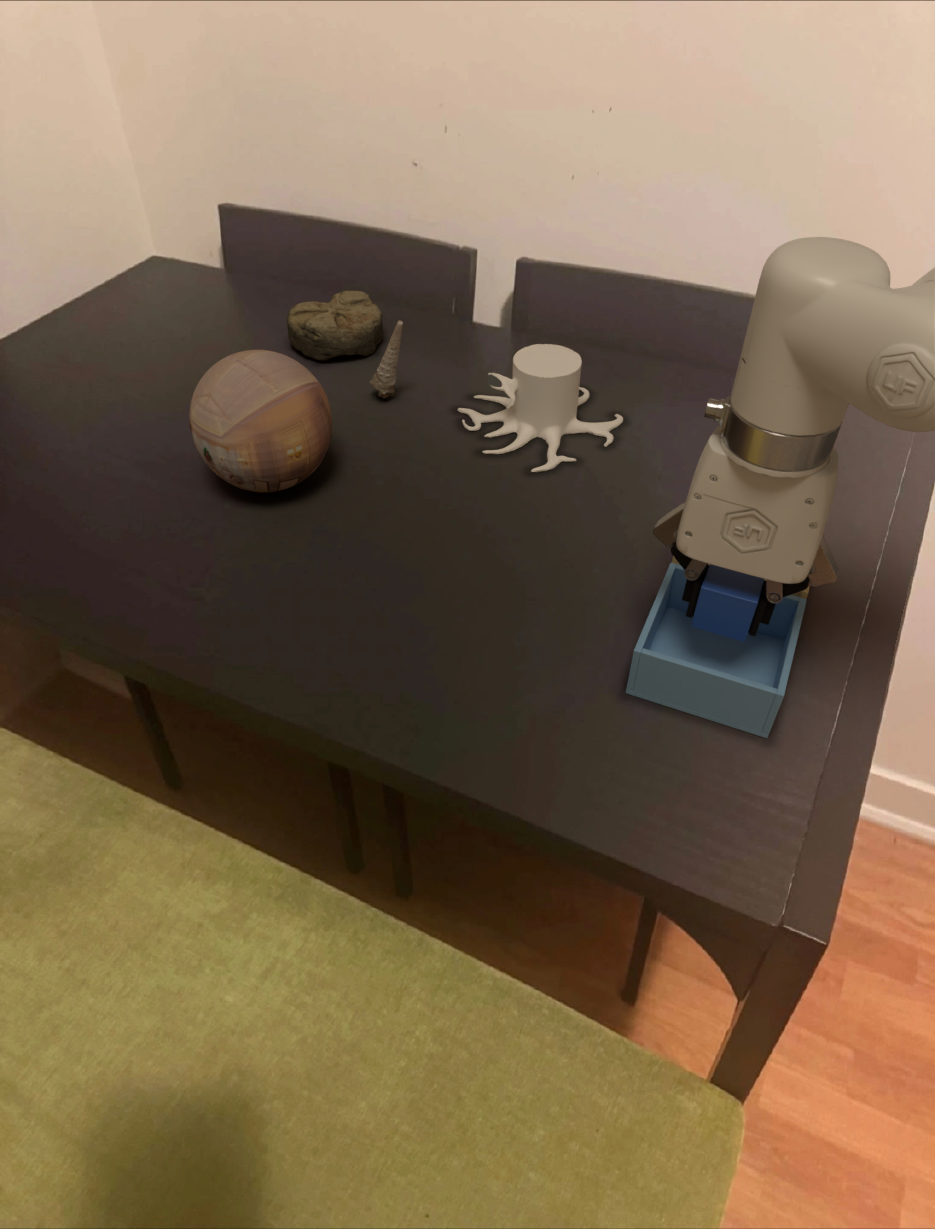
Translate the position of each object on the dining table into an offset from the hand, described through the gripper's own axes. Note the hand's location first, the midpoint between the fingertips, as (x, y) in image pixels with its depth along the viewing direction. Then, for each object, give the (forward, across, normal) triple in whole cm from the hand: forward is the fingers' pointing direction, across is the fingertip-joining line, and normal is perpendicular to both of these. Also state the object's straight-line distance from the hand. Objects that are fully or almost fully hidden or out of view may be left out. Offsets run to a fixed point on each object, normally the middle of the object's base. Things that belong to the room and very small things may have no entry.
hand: (724, 614), depth 72 cm
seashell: (+7, -48, +29) cm, 57 cm away
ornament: (+7, -52, +8) cm, 53 cm away
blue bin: (+7, 0, 0) cm, 7 cm away
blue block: (0, 0, 0) cm, 0 cm away
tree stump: (+7, -28, +32) cm, 43 cm away
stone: (+7, -62, +40) cm, 74 cm away
